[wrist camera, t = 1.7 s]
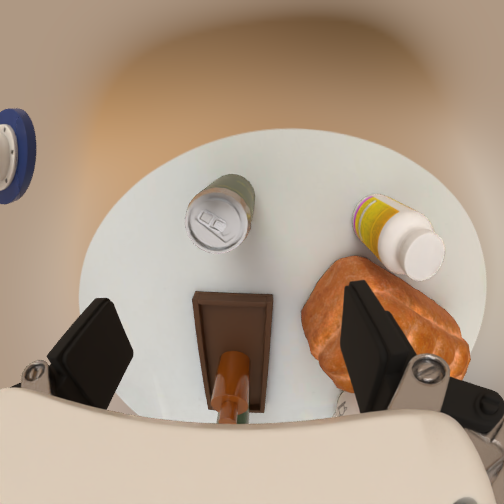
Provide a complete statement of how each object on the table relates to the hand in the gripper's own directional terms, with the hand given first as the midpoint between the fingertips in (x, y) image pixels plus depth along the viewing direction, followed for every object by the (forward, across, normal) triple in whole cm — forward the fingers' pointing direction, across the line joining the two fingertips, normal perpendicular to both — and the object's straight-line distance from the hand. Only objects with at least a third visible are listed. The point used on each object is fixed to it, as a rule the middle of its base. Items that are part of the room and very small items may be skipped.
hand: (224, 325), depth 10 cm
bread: (+24, -18, +19) cm, 36 cm away
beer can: (+24, +2, -1) cm, 24 cm away
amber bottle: (+23, +5, +25) cm, 34 cm away
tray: (+24, +5, +25) cm, 35 cm away
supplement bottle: (+24, -16, +4) cm, 29 cm away
